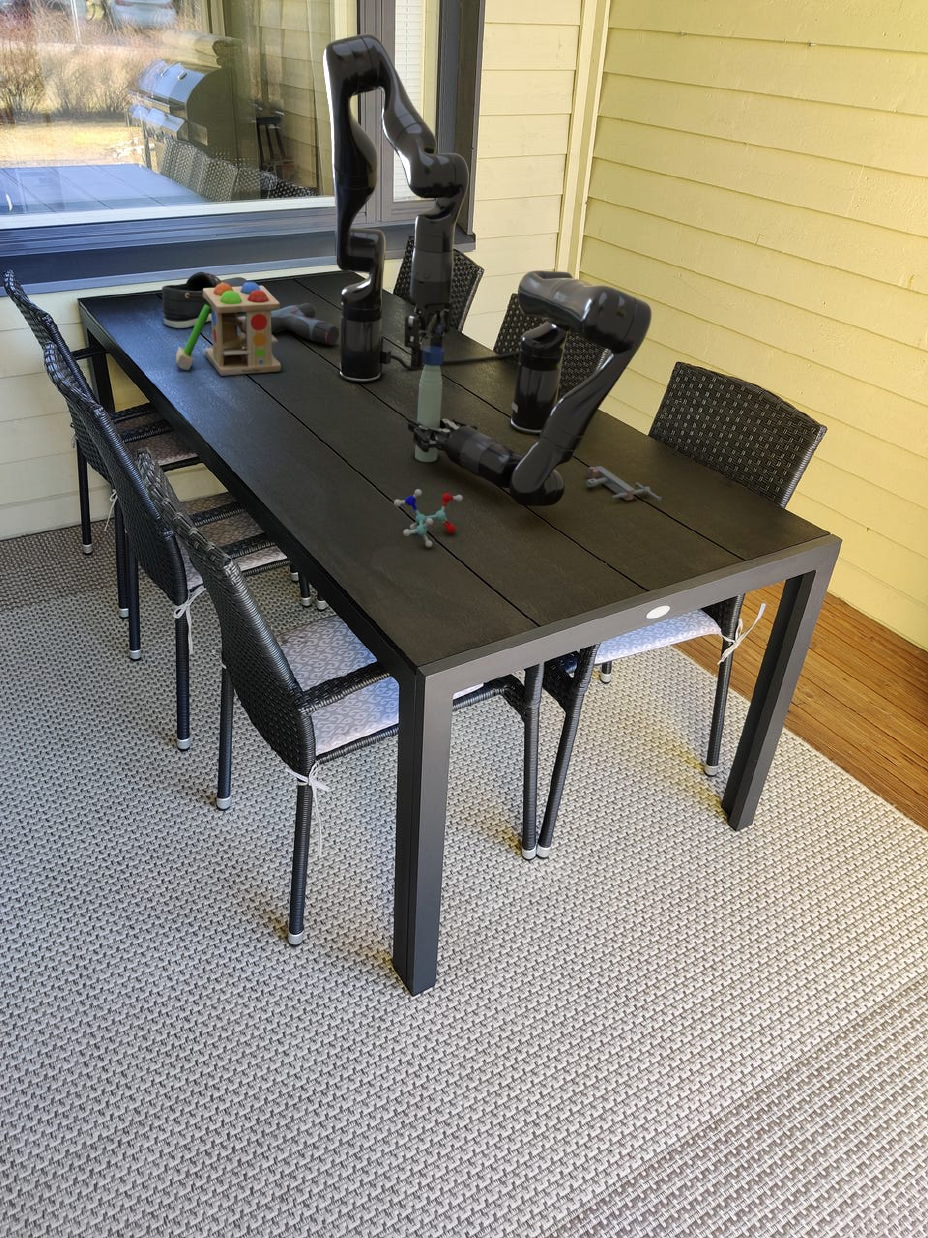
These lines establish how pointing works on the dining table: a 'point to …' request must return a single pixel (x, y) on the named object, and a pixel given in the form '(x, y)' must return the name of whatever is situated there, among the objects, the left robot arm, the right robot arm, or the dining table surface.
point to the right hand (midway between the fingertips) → (419, 421)
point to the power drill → (304, 324)
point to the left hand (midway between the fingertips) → (426, 362)
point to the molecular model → (428, 519)
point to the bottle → (429, 406)
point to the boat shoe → (191, 298)
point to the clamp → (598, 478)
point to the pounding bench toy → (229, 347)
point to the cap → (433, 355)
